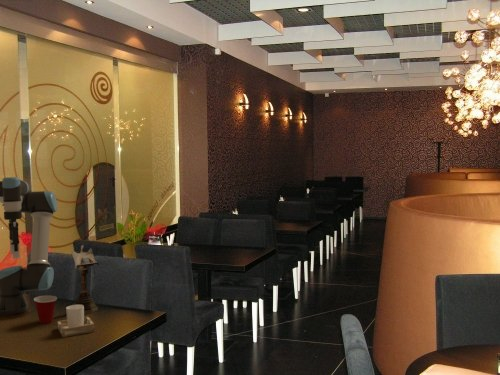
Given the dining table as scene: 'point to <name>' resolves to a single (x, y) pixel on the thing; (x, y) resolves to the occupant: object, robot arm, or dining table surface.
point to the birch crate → (75, 328)
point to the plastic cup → (45, 308)
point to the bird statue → (84, 294)
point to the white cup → (75, 315)
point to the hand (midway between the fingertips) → (15, 256)
